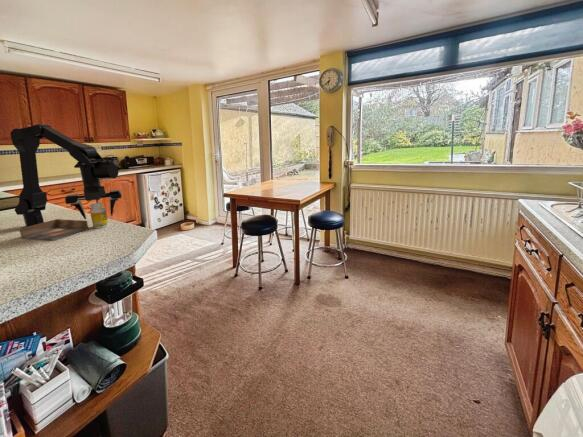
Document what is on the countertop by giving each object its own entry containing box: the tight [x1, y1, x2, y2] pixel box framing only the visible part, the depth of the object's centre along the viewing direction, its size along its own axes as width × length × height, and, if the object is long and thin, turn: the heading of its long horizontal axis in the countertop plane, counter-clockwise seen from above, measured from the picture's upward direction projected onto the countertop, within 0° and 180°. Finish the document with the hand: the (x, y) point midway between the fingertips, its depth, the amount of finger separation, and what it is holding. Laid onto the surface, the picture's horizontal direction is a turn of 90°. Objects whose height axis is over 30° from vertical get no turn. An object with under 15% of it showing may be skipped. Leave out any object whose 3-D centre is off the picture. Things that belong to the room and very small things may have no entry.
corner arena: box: [19, 218, 89, 242], centre depth 118 cm, size 16×14×4 cm
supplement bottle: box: [89, 202, 109, 229], centre depth 124 cm, size 5×5×10 cm
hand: (98, 217), depth 124 cm, fingers open, 9 cm apart
